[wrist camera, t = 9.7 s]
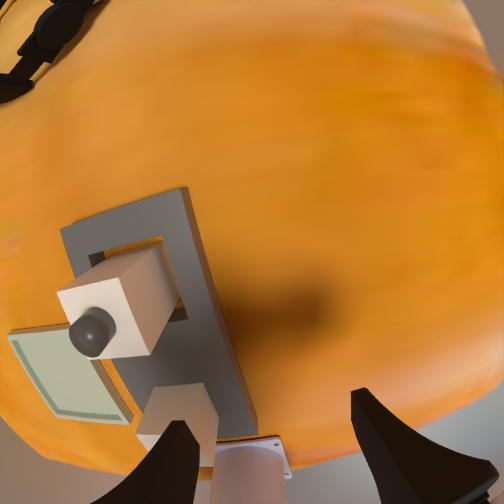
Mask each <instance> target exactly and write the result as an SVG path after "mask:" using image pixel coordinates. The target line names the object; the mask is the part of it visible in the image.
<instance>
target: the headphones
mask: <svg viewBox="0 0 504 504" xmlns="http://www.w3.org/2000/svg"><path fill="white" fill-rule="evenodd" d="M6 1H7V0H0V10H1V8H2V7H3V5H4V4H5V2H6ZM50 1H51V2H52V3H54V5H52V6H50V7H49V8H48V9H46V10H45V11H44V12H43V14H42V15H41V16H40V17H39V19H38V20H37V22H36V24H35V27H34V31H33V32H32V34H31V35H30V36H29V37H28V38H27V40H26V41H25V42H24V43H23V45H22V46H21V47H20V49H19V50H18V51H17V54H18V55H19V56H23V57H22V58H21V59H20V60H19V62H18V63H17V64H16V65H15V67H14V68H13V69H12V70H11V72H10V73H9V74H2V73H0V103H6V102H8V101H11V100H13V99H15V98H17V97H18V96H20V95H22V94H23V93H25V92H26V91H28V90H29V89H31V88H32V82H33V80H29V79H30V78H31V77H32V76H33V74H34V73H35V72H36V71H37V70H38V69H39V67H40V66H41V65H42V64H43V63H44V62H48V63H52V62H53V60H54V59H55V57H56V56H57V54H58V53H59V52H60V50H61V49H62V47H63V46H64V45H65V44H66V43H68V42H69V41H70V40H71V39H72V38H73V37H74V36H75V35H76V34H77V32H78V31H79V29H80V28H81V26H82V23H83V20H84V16H85V14H86V13H87V12H88V10H89V9H90V7H92V6H94V5H95V4H97V3H99V2H100V1H102V0H50Z"/></svg>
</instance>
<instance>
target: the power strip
mask: <svg viewBox="0 0 504 504" xmlns="http://www.w3.org/2000/svg"><path fill="white" fill-rule="evenodd" d="M60 232H61V235H62V239H63V242H64V245H65V249H66V252H67V255H68V258H69V261H70V264H71V267H72V270H73V273H74V276H75V278H77V277H79V276H80V275H82V274H83V273H85V272H87V271H88V270H90V269H91V268H93V267H94V266H96V265H97V264H99V263H100V262H102V261H103V260H105V256H104V253H103V251H104V250H108V249H111V248H115V247H118V246H122V245H126V244H129V243H133V242H136V241H140V240H144V239H147V238H151V237H155V236H159V235H162V238H163V241H164V245H165V248H166V251H167V255H168V258H169V261H170V264H171V268H172V271H173V274H174V277H175V280H176V283H177V286H178V289H179V292H180V295H181V298H182V301H183V304H184V308H179V309H174V310H173V312H172V314H171V316H170V318H169V320H168V322H167V323H166V325H165V327H164V329H163V331H162V333H161V335H160V337H159V339H158V341H157V343H156V344H155V346H154V348H153V350H152V352H151V354H150V355H145V356H135V357H124V358H111V360H112V362H113V364H114V366H115V368H116V369H117V371H118V373H119V375H120V377H121V378H122V380H123V382H124V384H125V385H126V387H127V389H128V390H129V392H130V394H131V395H132V397H133V399H134V400H135V402H136V404H137V405H138V407H139V408H140V410H141V411H142V413H143V415H142V418H141V420H140V423H139V426H138V428H137V431H136V433H135V435H136V436H137V437H138V439H139V440H140V441H141V443H142V444H143V445H144V446H145V448H146V449H147V450H148V451H150V450H151V449H152V447H153V446H154V445H155V443H156V442H157V441H158V439H159V438H160V436H161V435H162V434H163V432H164V431H165V429H166V428H167V427H168V425H169V424H170V422H171V421H172V420H185V422H186V424H187V425H188V427H189V429H190V430H191V432H192V434H193V435H194V437H195V438H196V440H197V441H198V443H199V445H200V465H199V467H214V460H215V450H216V441H217V439H225V438H235V437H244V436H252V435H258V419H257V416H256V413H255V410H254V407H253V405H252V402H251V399H250V396H249V393H248V390H247V387H246V385H245V382H244V379H243V376H242V373H241V370H240V367H239V364H238V361H237V358H236V355H235V352H234V349H233V345H232V342H231V339H230V336H229V333H228V330H227V327H226V323H225V320H224V317H223V314H222V310H221V307H220V304H219V300H218V297H217V294H216V290H215V287H214V284H213V280H212V277H211V273H210V270H209V266H208V263H207V259H206V255H205V252H204V248H203V245H202V241H201V237H200V234H199V230H198V226H197V222H196V218H195V215H194V211H193V207H192V203H191V199H190V195H189V191H188V187H186V188H180V189H177V190H173V191H170V192H166V193H163V194H159V195H156V196H153V197H150V198H146V199H143V200H140V201H137V202H134V203H131V204H128V205H125V206H122V207H119V208H116V209H113V210H110V211H107V212H104V213H101V214H98V215H95V216H93V217H90V218H87V219H85V220H82V221H79V222H76V223H74V224H71V225H69V226H66V227H64V228H61V229H60Z"/></svg>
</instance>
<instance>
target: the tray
mask: <svg viewBox="0 0 504 504" xmlns="http://www.w3.org/2000/svg"><path fill="white" fill-rule="evenodd" d="M70 326H71V325H70V323H67V324H59V325H52V326H44V327H36V328H28V329H20V330H12V331H11V332H10V333H8V334H7V335H6V337H7V339H8V341H9V343H10V345H11V347H12V348H13V350H14V352H15V354H16V356H17V358H18V360H19V361H20V363H21V365H22V367H23V368H24V370H25V372H26V373H27V375H28V377H29V378H30V380H31V382H32V383H33V385H34V386H35V388H36V389H37V391H38V392H39V394H40V395H41V397H42V398H43V400H44V401H45V403H46V404H47V405H48V407H49V408H50V410H51V411H52V412H53V414H54V415H55V416H56V417H59V418H65V419H72V420H79V421H87V422H97V423H109V424H125V425H130V424H131V421H132V419H133V417H134V416H133V415H132V413H131V412H130V410H129V409H128V407H127V406H126V404H125V403H124V401H123V400H122V398H121V396H120V395H119V393H118V392H117V390H116V388H115V387H114V385H113V383H112V382H111V380H110V378H109V376H108V375H107V373H106V371H105V369H104V368H103V366H102V364H101V362H100V360H99V359H95V360H88V359H87V357H86V356H85V355H83V354H81V353H80V352H79V351H78V350H77V349H76V348H75V347H74V346H73V344H72V342H71V340H70V337H69V328H70Z"/></svg>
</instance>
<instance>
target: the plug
mask: <svg viewBox="0 0 504 504" xmlns="http://www.w3.org/2000/svg"><path fill="white" fill-rule="evenodd" d="M57 294H58V297H59V299H60V302H61V304H62V307H63V309H64V311H65V314H66V316H67V318H68V320H69V323H70V325H71V326H70V328H69V337H70V340H71V342H72V344H73V346H74V347H75V348H76V349H77V350H78V351H79V352H80V353H81V354H83V355H85V356H86V357H87V359H88V360H95V359H111V358H124V357H135V356H145V355H150V354H151V352H152V350H153V348H154V346H155V344H156V343H157V341H158V339H159V337H160V335H161V333H162V331H163V329H164V327H165V325H166V323H167V322H168V320H169V318H170V316H171V314H172V312H173V310H174V308H175V307H176V305H177V303H178V301H179V299H180V297H181V295H180V292H179V289H178V286H177V283H176V280H175V277H174V274H173V271H172V268H171V264H170V261H169V258H168V255H167V251H166V248H165V245H164V241H162V242H158V243H154V244H150V245H146V246H142V247H138V248H135V249H131V250H127V251H123V252H120V253H116V254H113V255H111V256H110V257H108V258H107V259H105V260H103V261H102V262H100V263H99V264H97V265H96V266H94V267H93V268H91V269H90V270H88V271H87V272H85V273H83V274H82V275H80V276H79V277H77V278H76V279H75V280H73V281H72V282H70V283H69V284H67V285H66V286H64V287H63V288H61V289H60V290H58V291H57Z"/></svg>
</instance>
